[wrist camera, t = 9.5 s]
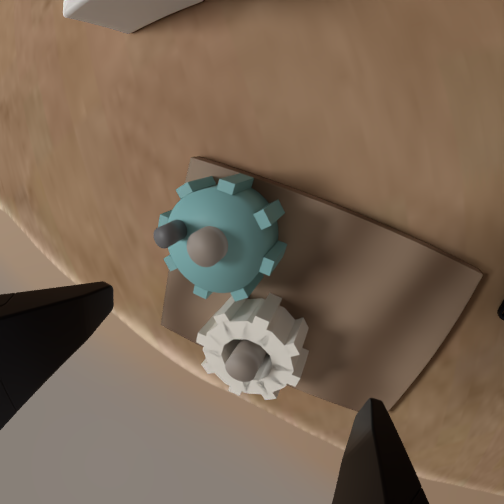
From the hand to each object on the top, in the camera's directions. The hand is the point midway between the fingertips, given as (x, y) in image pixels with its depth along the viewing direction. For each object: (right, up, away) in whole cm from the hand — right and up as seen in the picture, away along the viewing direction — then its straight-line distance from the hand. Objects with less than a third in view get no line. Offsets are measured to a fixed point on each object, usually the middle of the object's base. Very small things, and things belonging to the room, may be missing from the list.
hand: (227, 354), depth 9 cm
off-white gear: (+1, -3, +13) cm, 13 cm away
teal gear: (0, +4, +11) cm, 12 cm away
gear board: (+4, 0, +12) cm, 13 cm away
